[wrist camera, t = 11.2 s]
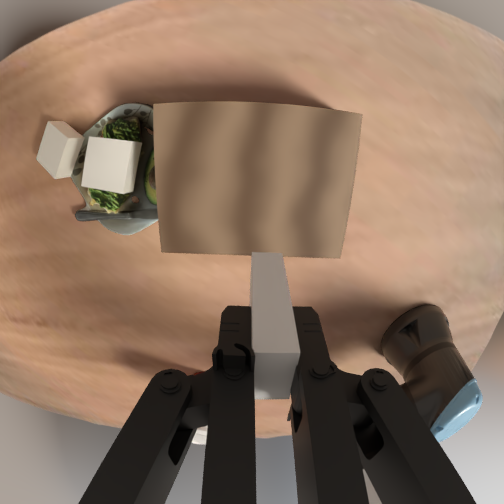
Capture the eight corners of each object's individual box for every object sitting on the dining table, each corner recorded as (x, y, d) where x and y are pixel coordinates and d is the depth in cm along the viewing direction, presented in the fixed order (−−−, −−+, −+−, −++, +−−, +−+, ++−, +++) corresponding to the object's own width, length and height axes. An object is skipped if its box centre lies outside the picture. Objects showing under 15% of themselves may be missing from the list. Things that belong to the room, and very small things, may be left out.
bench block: (336, 110, 33) (362, 114, 25) (322, 226, 40) (340, 258, 32) (175, 103, 32) (153, 103, 24) (178, 221, 40) (161, 252, 32)
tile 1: (89, 136, 28) (100, 137, 31) (81, 186, 30) (93, 184, 33) (132, 141, 29) (142, 142, 31) (123, 193, 30) (133, 191, 33)
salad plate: (109, 255, 43) (97, 271, 39) (51, 162, 35) (34, 170, 31) (213, 200, 39) (209, 212, 35) (150, 86, 31) (137, 84, 27)
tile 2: (84, 138, 31) (68, 138, 29) (70, 176, 34) (54, 179, 31) (63, 121, 32) (48, 120, 29) (51, 157, 34) (36, 159, 31)
